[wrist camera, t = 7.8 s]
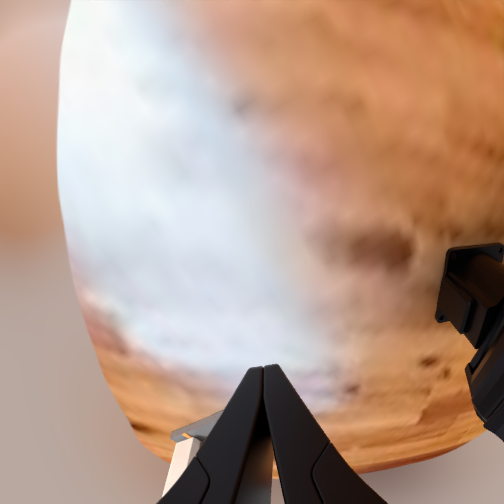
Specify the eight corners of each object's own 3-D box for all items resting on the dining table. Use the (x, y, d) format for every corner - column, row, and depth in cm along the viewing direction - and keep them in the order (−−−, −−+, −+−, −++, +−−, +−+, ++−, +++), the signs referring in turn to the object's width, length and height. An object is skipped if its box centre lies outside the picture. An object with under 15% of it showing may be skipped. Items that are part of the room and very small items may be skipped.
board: (259, 392, 25) (259, 401, 24) (298, 420, 26) (299, 428, 25) (172, 431, 29) (169, 439, 28) (210, 454, 30) (208, 461, 29)
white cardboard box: (193, 437, 26) (176, 513, 18) (224, 454, 28) (214, 527, 19) (176, 443, 27) (157, 514, 18) (206, 460, 28) (194, 528, 20)
